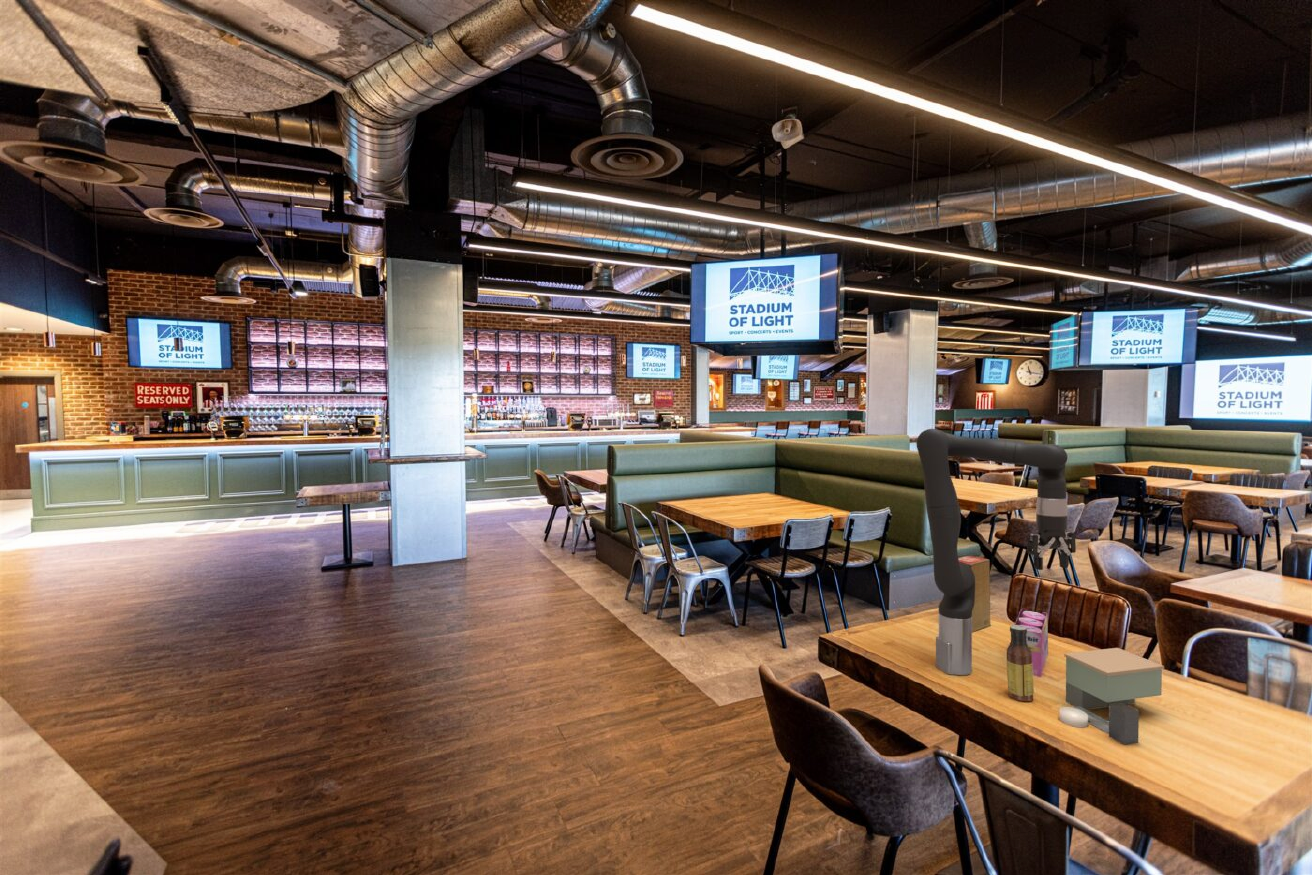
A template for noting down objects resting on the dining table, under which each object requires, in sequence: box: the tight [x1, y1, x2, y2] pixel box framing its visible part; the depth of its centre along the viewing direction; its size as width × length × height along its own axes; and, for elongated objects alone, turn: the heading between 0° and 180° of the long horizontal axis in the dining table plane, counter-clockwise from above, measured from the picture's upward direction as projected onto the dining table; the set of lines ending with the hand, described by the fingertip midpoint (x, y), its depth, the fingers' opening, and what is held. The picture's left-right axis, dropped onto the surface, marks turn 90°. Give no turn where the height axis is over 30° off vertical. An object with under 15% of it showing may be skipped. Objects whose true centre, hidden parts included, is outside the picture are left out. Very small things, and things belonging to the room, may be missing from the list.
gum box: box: [1014, 608, 1049, 678], centre depth 190 cm, size 24×8×14 cm, turn 142°
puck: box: [1059, 706, 1089, 729], centre depth 153 cm, size 6×6×2 cm
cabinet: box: [1063, 647, 1165, 711], centre depth 159 cm, size 18×13×13 cm
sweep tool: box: [1072, 703, 1140, 746], centre depth 149 cm, size 4×15×8 cm, turn 11°
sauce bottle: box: [1006, 624, 1035, 702], centre depth 166 cm, size 7×6×20 cm
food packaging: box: [958, 555, 991, 633], centre depth 222 cm, size 13×9×25 cm
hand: (1051, 568), depth 173 cm, fingers open, 8 cm apart
